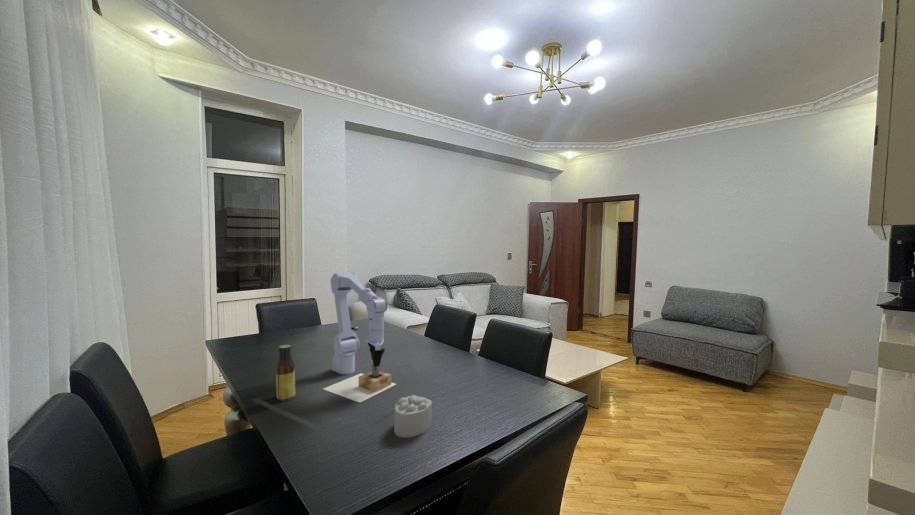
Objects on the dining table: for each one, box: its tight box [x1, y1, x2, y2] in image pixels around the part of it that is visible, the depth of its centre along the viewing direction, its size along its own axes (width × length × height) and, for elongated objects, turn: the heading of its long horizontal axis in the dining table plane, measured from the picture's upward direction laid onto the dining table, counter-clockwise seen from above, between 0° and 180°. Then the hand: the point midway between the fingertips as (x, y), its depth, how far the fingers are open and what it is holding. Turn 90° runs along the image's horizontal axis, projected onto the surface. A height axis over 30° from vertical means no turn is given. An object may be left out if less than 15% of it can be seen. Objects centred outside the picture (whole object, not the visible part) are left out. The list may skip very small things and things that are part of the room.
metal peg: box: [371, 364, 380, 379], centre depth 144 cm, size 3×3×8 cm
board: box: [322, 373, 397, 403], centre depth 142 cm, size 20×20×1 cm
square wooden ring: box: [359, 370, 392, 392], centre depth 144 cm, size 9×9×4 cm
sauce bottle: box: [275, 344, 296, 402], centre depth 131 cm, size 7×6×20 cm
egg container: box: [393, 394, 433, 438], centre depth 115 cm, size 10×13×9 cm
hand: (375, 362), depth 143 cm, fingers open, 7 cm apart
